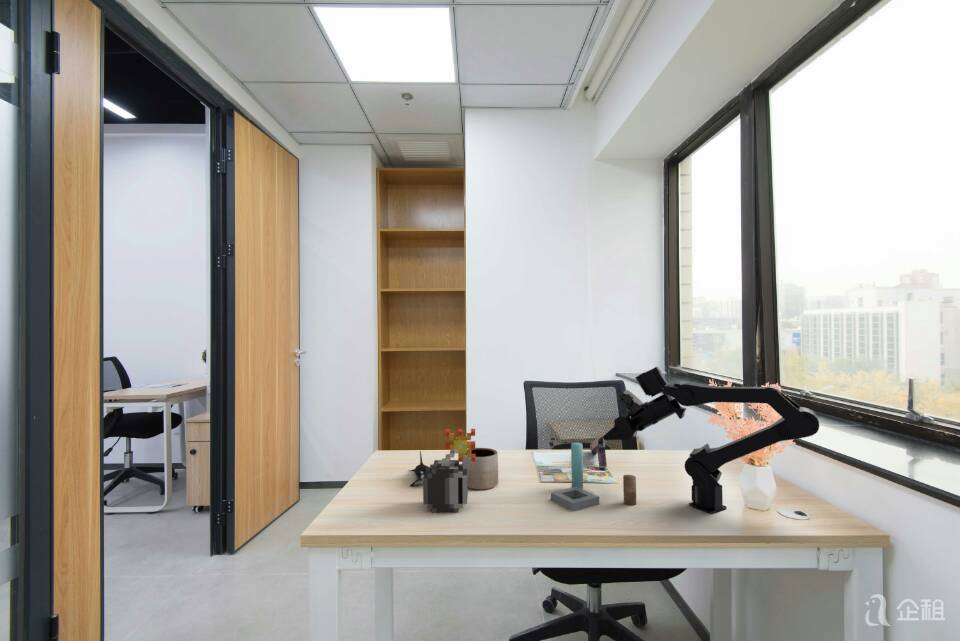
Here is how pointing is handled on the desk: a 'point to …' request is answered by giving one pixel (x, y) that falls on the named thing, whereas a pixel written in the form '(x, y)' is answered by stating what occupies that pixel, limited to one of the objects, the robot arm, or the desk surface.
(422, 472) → the toy
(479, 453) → the planter
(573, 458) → the teal pin
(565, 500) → the socket block
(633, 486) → the walnut pin
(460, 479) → the bomb
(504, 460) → the desk surface
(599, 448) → the toy gun
